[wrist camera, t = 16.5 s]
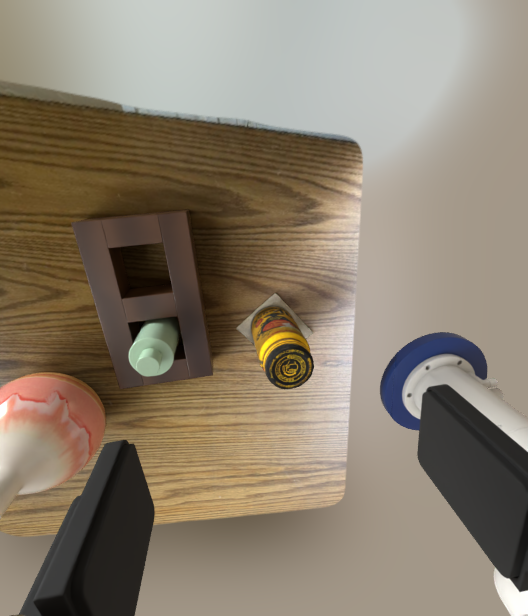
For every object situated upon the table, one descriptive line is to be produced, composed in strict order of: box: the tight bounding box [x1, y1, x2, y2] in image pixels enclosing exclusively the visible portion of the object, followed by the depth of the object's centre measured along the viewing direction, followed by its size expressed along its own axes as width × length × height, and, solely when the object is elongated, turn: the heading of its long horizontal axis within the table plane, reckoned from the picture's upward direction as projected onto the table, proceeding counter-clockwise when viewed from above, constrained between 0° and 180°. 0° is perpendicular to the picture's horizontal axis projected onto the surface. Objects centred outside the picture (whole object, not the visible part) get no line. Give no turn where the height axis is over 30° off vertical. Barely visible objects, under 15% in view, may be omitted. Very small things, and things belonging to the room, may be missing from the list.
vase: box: [0, 372, 106, 518], centre depth 36 cm, size 14×14×18 cm
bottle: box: [129, 317, 181, 376], centre depth 38 cm, size 5×5×10 cm
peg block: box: [72, 210, 213, 389], centre depth 39 cm, size 12×21×4 cm, turn 5°
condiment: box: [236, 293, 314, 389], centre depth 40 cm, size 7×8×12 cm
